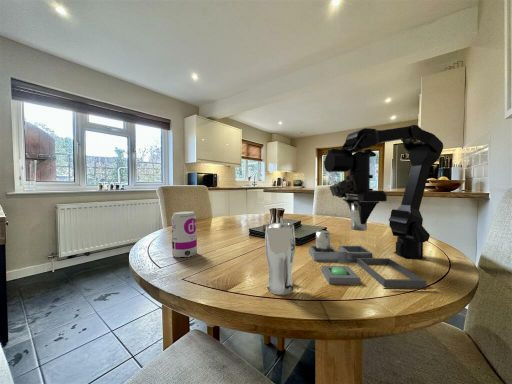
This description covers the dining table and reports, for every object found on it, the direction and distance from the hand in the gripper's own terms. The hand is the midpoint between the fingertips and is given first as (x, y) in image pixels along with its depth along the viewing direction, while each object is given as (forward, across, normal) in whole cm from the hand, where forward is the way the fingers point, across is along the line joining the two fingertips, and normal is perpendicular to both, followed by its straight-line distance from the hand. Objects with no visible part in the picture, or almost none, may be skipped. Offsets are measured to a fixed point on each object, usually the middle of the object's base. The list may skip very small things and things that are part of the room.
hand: (359, 222), depth 64 cm
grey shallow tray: (+12, -2, -5) cm, 14 cm away
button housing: (+12, +13, -11) cm, 21 cm away
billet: (+2, 0, 0) cm, 2 cm away
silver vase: (+12, +16, -26) cm, 33 cm away
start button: (+11, +13, -11) cm, 20 cm away
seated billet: (+11, -2, -10) cm, 16 cm away
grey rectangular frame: (+12, +11, +2) cm, 16 cm away
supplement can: (+12, -8, -57) cm, 59 cm away
